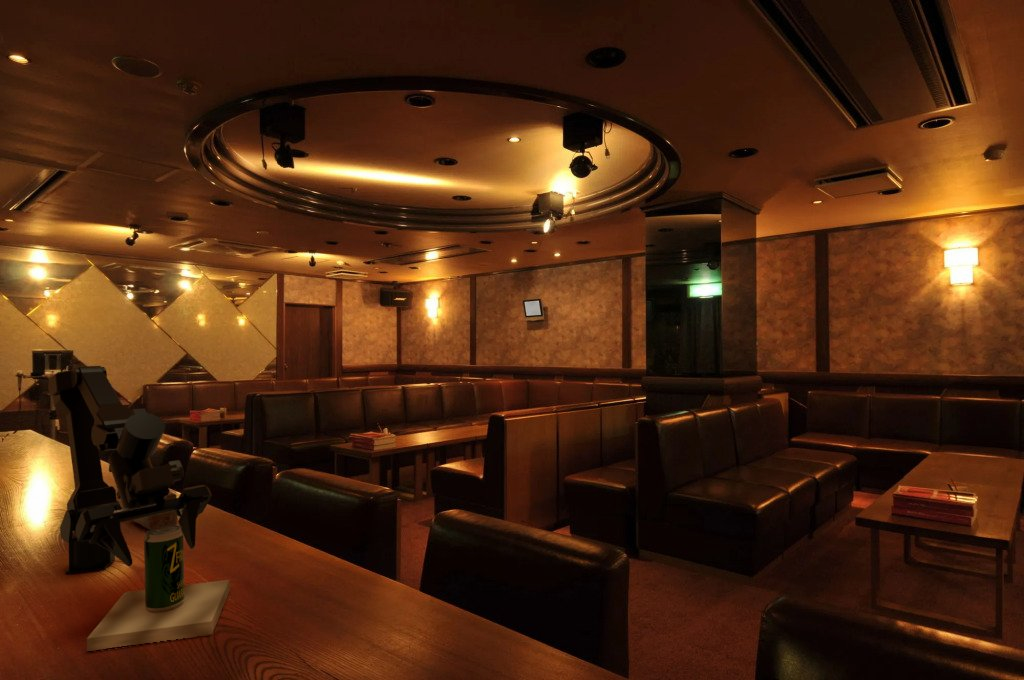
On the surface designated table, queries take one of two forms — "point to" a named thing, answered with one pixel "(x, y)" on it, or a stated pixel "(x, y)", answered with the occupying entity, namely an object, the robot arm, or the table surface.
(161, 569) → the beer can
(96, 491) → the robot arm
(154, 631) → the serving board
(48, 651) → the table surface
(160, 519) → the food item
